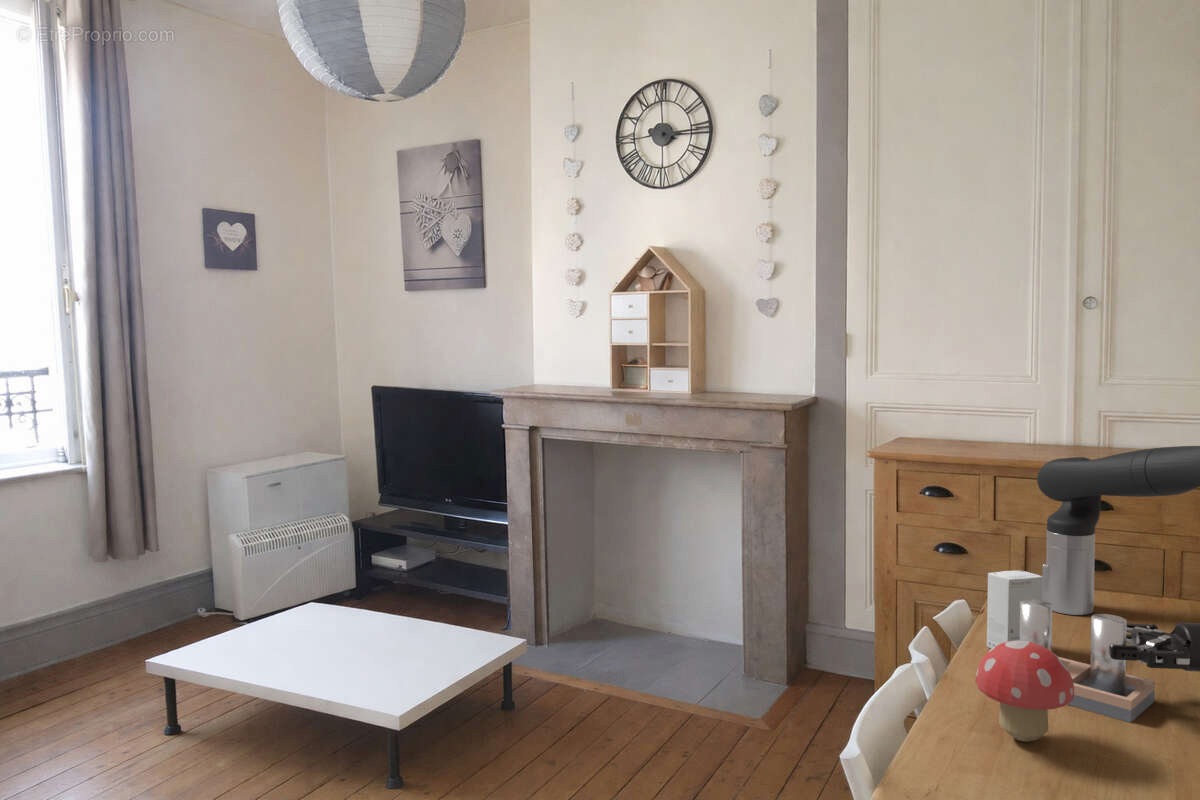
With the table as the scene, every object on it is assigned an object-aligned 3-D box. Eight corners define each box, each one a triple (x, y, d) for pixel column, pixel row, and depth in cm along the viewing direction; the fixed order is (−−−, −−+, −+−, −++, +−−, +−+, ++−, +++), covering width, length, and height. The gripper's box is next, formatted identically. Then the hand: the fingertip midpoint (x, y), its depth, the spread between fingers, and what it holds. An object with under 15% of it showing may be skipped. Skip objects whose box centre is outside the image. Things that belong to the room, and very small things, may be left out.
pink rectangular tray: (990, 682, 153) (990, 663, 153) (1018, 665, 160) (1018, 646, 160) (1130, 722, 136) (1131, 701, 136) (1154, 701, 143) (1154, 681, 143)
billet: (1085, 690, 144) (1086, 618, 143) (1097, 681, 147) (1098, 612, 146) (1118, 698, 140) (1120, 626, 139) (1130, 690, 143) (1131, 618, 143)
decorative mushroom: (989, 712, 141) (990, 622, 140) (1082, 735, 132) (1084, 639, 131) (963, 744, 131) (964, 647, 129) (1062, 771, 122) (1064, 667, 121)
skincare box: (1007, 657, 164) (1008, 580, 163) (984, 646, 170) (985, 571, 168) (1043, 651, 166) (1044, 575, 165) (1019, 641, 172) (1020, 567, 171)
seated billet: (1014, 670, 153) (1015, 603, 152) (1026, 663, 156) (1027, 597, 155) (1044, 679, 149) (1045, 610, 148) (1055, 670, 152) (1057, 603, 151)
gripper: (1194, 611, 146) (1088, 606, 150) (1235, 640, 132) (1117, 635, 136) (1193, 654, 147) (1087, 649, 150) (1234, 688, 133) (1116, 681, 137)
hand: (1101, 642), depth 143 cm, fingers open, 8 cm apart
